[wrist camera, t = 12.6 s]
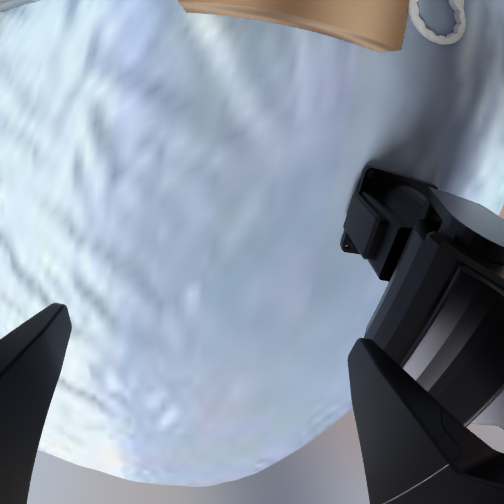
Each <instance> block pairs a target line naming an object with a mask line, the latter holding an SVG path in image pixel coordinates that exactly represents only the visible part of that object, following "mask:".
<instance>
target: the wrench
mask: <svg viewBox="0 0 504 504" xmlns="http://www.w3.org/2000/svg"><path fill="white" fill-rule="evenodd" d="M418 1H419V0H409V7H408V14H409V16H410V19H411V21H412V22H413V24H414V26H415V27H416V28H417V30H418V31H419V32H420V33H421V34H422V35H423V36H424V37H426V38H427V39H428V40H430V41H432V42H434V43H438V44H442V45H449V44H453V43H455V42H457V41H458V40H459V39H460V38H461V37H462V36H463V34H464V31H465V27H466V18H465V13H464V10H463V9H464V1H465V0H448V1H449V4H450V6H451V7H452V8H453V10H454V18H455V20H456V24H455V26H454V28H453V33H449V34H448V35H447V36H446V37H445V36H442V35H438V36H436V35H435V33H434V32H433V31H431V30H429V29H426V27H425V24H424V21H423V20H422V19H421V18H420V17H419V16H418V15H419V8H418V5H417V2H418Z"/></svg>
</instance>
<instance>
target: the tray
mask: <svg viewBox="0 0 504 504" xmlns="http://www.w3.org/2000/svg"><path fill="white" fill-rule="evenodd" d="M36 1H40V0H0V12H3V11H6V10H9V9H12V8H15V7H18V6H22V5H25V4H29V3H32V2H36Z"/></svg>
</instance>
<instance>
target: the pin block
mask: <svg viewBox="0 0 504 504" xmlns="http://www.w3.org/2000/svg"><path fill="white" fill-rule="evenodd" d="M178 2H179V3H180V4H181V6H182V7H183V8H184V10H185V11H186V12H189V13H205V14H216V15H226V16H234V17H242V18H249V19H255V20H262V21H267V22H273V23H278V24H283V25H288V26H292V27H297V28H301V29H305V30H309V31H313V32H317V33H321V34H324V35H328V36H332V37H335V38H338V39H342V40H345V41H348V42H351V43H354V44H357V45H360V46H363V47H366V48H369V49H371V50H374V51H377V52H387V51H397V50H401V49H402V44H403V38H404V32H405V26H406V20H407V13H408V7H409V0H178Z"/></svg>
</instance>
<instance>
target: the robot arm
mask: <svg viewBox="0 0 504 504" xmlns="http://www.w3.org/2000/svg"><path fill="white" fill-rule="evenodd" d="M370 171H372V175H371V176H370V177H368V173H369V172H370ZM344 229H345V231H344V234H343V237H342V240H341V243H340V246H341V248H342V250H343V251H344V252H348V253H355V254H361V256H362V257H363V258H364V259H367V260H368V261H369V263H370V264H371V266H372V268H373V269H374V271H375V272H376V274H377V276H378V277H379V279H380V280H384V281H388V282H389V284H388V286H387V288H386V290H385V292H384V294H383V296H382V298H381V300H380V302H379V304H378V306H377V308H376V310H375V312H374V314H373V316H372V318H371V320H370V322H369V324H368V326H367V328H366V332H365V336H364V338H359V339H358V340H357V341H356V343H355V345H354V346H353V348H352V350H351V352H350V354H349V356H348V369H349V378H350V388H351V398H352V405H353V410H354V415H355V420H356V425H357V430H358V435H359V440H360V446H361V451H362V457H363V463H364V468H365V475H366V481H367V487H368V493H369V500H370V504H504V453H500V452H498V451H496V450H494V449H492V448H491V447H490V446H488V445H487V444H486V443H485V442H483V441H482V440H481V439H479V438H478V437H477V436H476V435H475V434H473V433H472V432H471V431H470V430H468V429H467V428H466V427H467V426H468V425H469V424H470V423H472V424H483V425H494V426H495V425H496V426H499V427H500V428H502V429H504V219H502V218H501V217H499V216H498V215H496V214H495V213H493V212H492V211H490V210H489V209H487V208H486V207H484V206H482V205H480V204H478V203H475V202H472V201H470V200H467V199H464V198H461V197H458V196H455V195H453V194H450V193H447V192H444V191H441V190H438V188H437V187H436V186H435V185H433V184H431V183H428V182H425V181H422V180H418V179H415V178H412V177H408V176H405V175H401V174H398V173H394V172H391V171H387V170H384V169H380V168H376V167H372V166H367V167H365V168H364V170H363V172H362V176H361V179H360V182H359V186H358V189H357V192H356V193H355V194H354V195H353V197H352V200H351V204H350V207H349V210H348V213H347V216H346V220H345V223H344ZM347 243H350V244H349V246H347V247H345V245H346V244H347ZM71 329H72V326H71V321H70V317H69V313H68V309H67V307H66V305H64V304H60V303H53V304H51V305H49V306H48V307H46V308H45V309H43V310H42V311H40V312H39V313H37V314H36V315H35V316H33V317H32V318H30V319H29V320H27V321H26V322H24V323H23V324H21V325H20V326H19V327H17V328H16V329H14V330H13V331H11V332H10V333H9V334H7V335H6V336H4V337H3V338H2V339H0V504H27V498H28V492H29V487H30V481H31V475H32V471H33V466H34V462H35V458H36V453H37V449H38V445H39V441H40V438H41V434H42V430H43V427H44V423H45V420H46V416H47V413H48V410H49V406H50V403H51V400H52V397H53V394H54V391H55V388H56V385H57V382H58V379H59V376H60V373H61V369H62V365H63V361H64V357H65V353H66V349H67V345H68V341H69V337H70V334H71Z"/></svg>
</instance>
